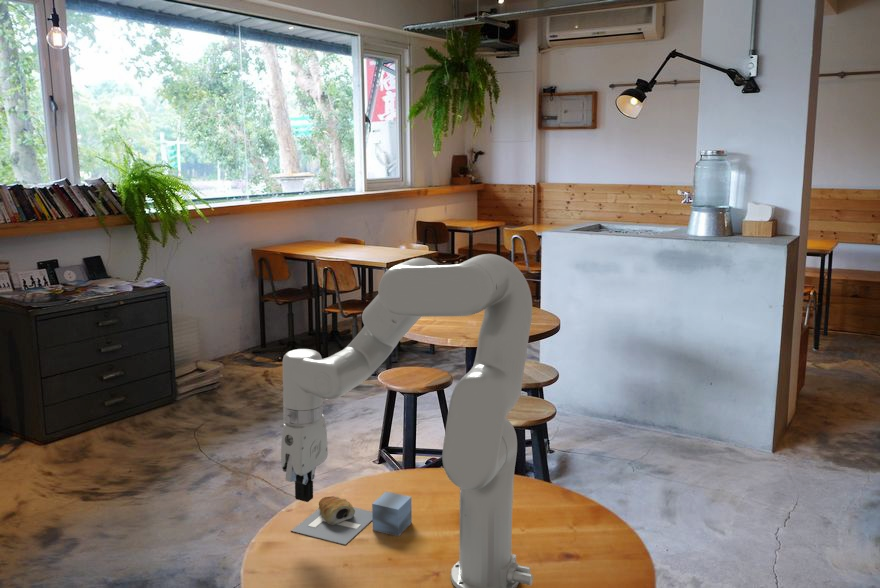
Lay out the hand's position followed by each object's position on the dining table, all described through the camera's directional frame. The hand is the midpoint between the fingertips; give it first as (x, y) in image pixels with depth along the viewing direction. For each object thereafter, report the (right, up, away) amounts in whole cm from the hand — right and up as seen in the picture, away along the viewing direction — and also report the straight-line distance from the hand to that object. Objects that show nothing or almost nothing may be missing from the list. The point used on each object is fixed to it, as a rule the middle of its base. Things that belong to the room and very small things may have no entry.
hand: (304, 498), depth 153 cm
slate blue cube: (+17, -8, +7) cm, 20 cm away
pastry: (+5, -7, +10) cm, 13 cm away
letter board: (+5, -7, +8) cm, 12 cm away
